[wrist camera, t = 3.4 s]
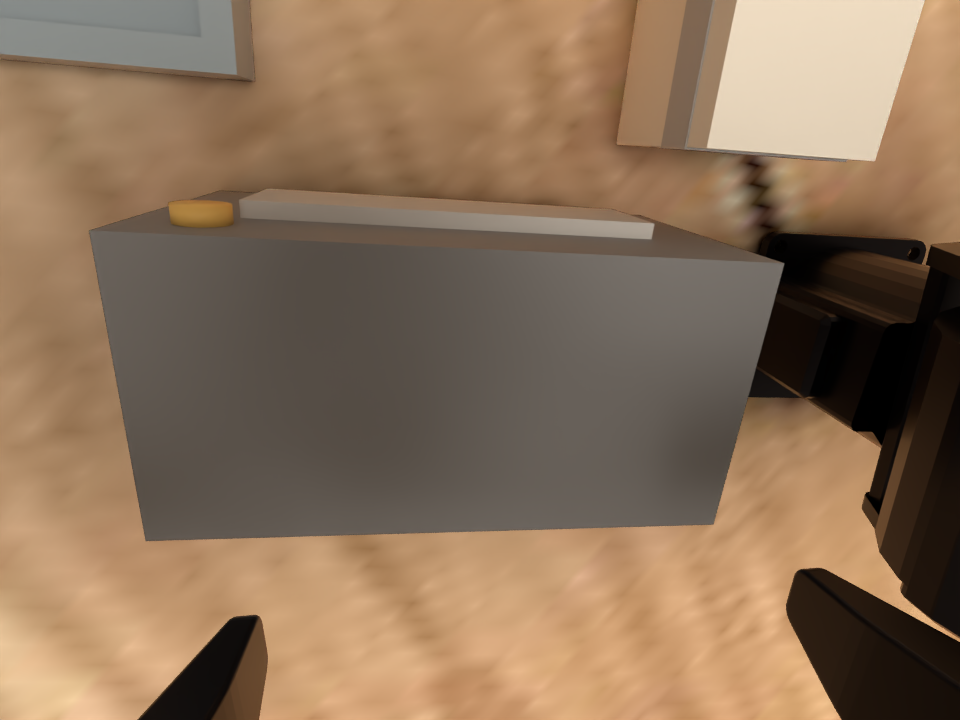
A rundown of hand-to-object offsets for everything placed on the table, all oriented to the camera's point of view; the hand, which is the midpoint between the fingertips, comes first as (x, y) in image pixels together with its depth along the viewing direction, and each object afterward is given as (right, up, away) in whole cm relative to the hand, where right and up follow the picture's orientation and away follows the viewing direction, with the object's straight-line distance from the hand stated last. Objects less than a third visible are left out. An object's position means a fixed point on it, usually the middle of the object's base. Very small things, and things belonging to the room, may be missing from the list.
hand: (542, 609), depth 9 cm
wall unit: (-3, +6, +11) cm, 13 cm away
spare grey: (+6, +13, +9) cm, 17 cm away
